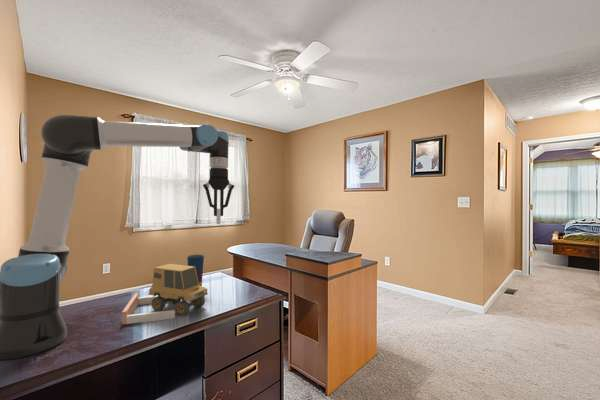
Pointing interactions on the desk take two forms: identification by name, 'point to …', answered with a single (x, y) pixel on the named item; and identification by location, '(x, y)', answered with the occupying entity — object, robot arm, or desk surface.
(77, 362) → the desk surface
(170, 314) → the bay
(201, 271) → the cup
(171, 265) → the toy car
